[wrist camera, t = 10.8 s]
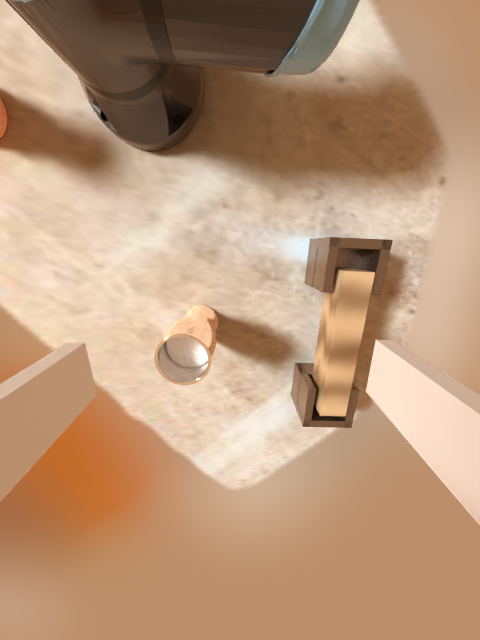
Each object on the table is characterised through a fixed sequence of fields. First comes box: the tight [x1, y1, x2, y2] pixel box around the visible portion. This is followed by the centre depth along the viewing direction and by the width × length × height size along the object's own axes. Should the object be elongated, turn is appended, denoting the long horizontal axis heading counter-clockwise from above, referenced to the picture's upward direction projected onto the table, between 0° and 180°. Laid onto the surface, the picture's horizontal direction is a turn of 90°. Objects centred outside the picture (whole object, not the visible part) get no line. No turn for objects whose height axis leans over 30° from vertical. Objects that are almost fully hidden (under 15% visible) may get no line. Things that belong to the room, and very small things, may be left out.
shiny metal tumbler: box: [155, 305, 218, 385], centre depth 35 cm, size 7×7×15 cm
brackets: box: [291, 237, 393, 428], centre depth 38 cm, size 29×8×8 cm, turn 178°
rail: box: [312, 268, 375, 416], centre depth 36 cm, size 22×4×6 cm, turn 178°
